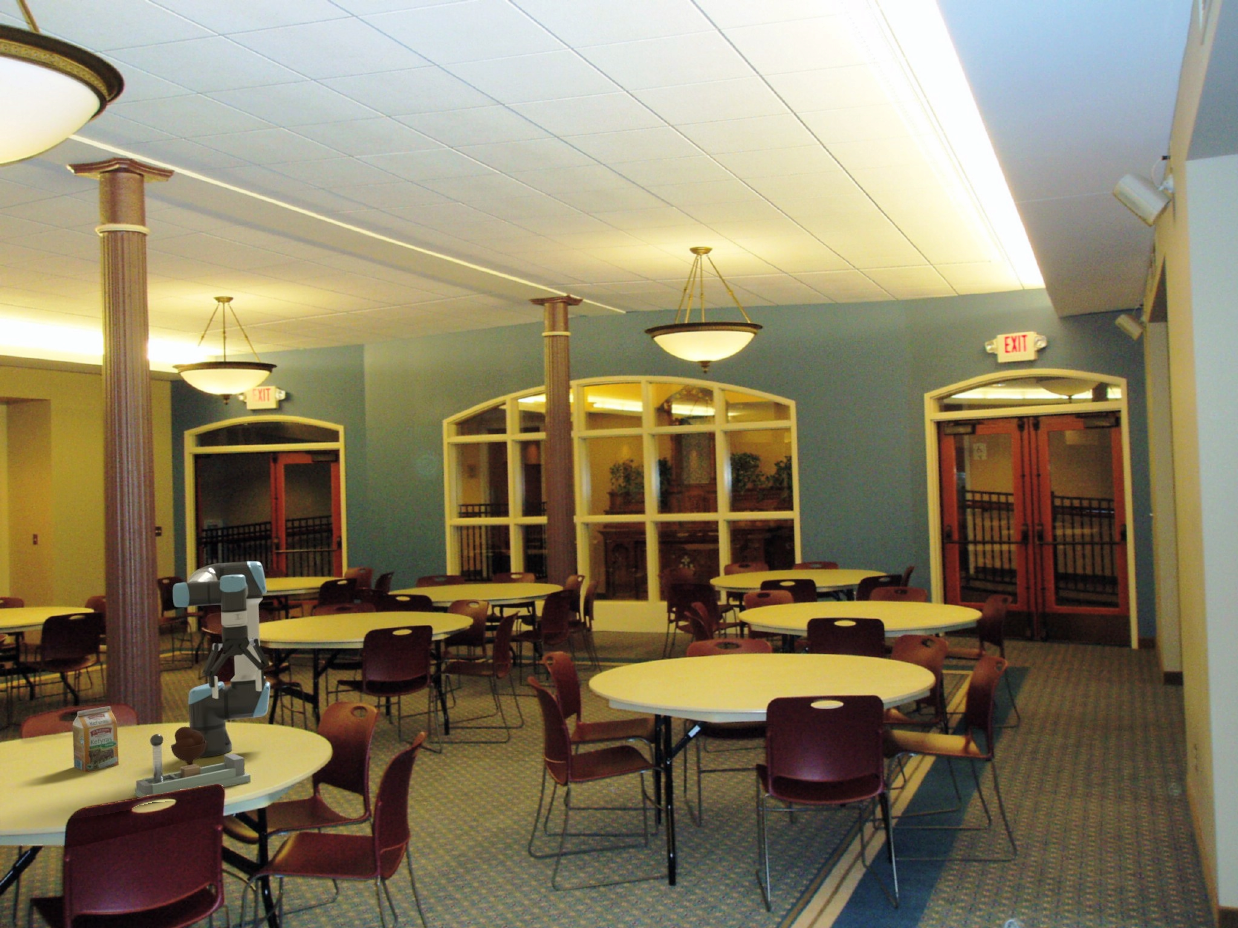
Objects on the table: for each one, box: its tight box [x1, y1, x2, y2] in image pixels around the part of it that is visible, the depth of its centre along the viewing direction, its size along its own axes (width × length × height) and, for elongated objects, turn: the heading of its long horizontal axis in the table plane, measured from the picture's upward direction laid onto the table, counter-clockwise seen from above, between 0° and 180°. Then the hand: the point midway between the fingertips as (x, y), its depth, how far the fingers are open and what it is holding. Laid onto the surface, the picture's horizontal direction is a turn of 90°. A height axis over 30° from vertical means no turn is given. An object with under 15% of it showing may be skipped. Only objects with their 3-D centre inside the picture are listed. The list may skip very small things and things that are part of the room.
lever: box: [148, 733, 179, 784], centre depth 321 cm, size 7×7×16 cm
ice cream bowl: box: [170, 726, 207, 766], centre depth 344 cm, size 11×11×15 cm
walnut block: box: [179, 764, 201, 779], centre depth 326 cm, size 4×4×4 cm
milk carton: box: [72, 705, 120, 773], centre depth 361 cm, size 11×10×19 cm
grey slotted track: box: [134, 753, 251, 798], centre depth 326 cm, size 13×30×7 cm, turn 129°
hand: (237, 694), depth 333 cm, fingers open, 13 cm apart
